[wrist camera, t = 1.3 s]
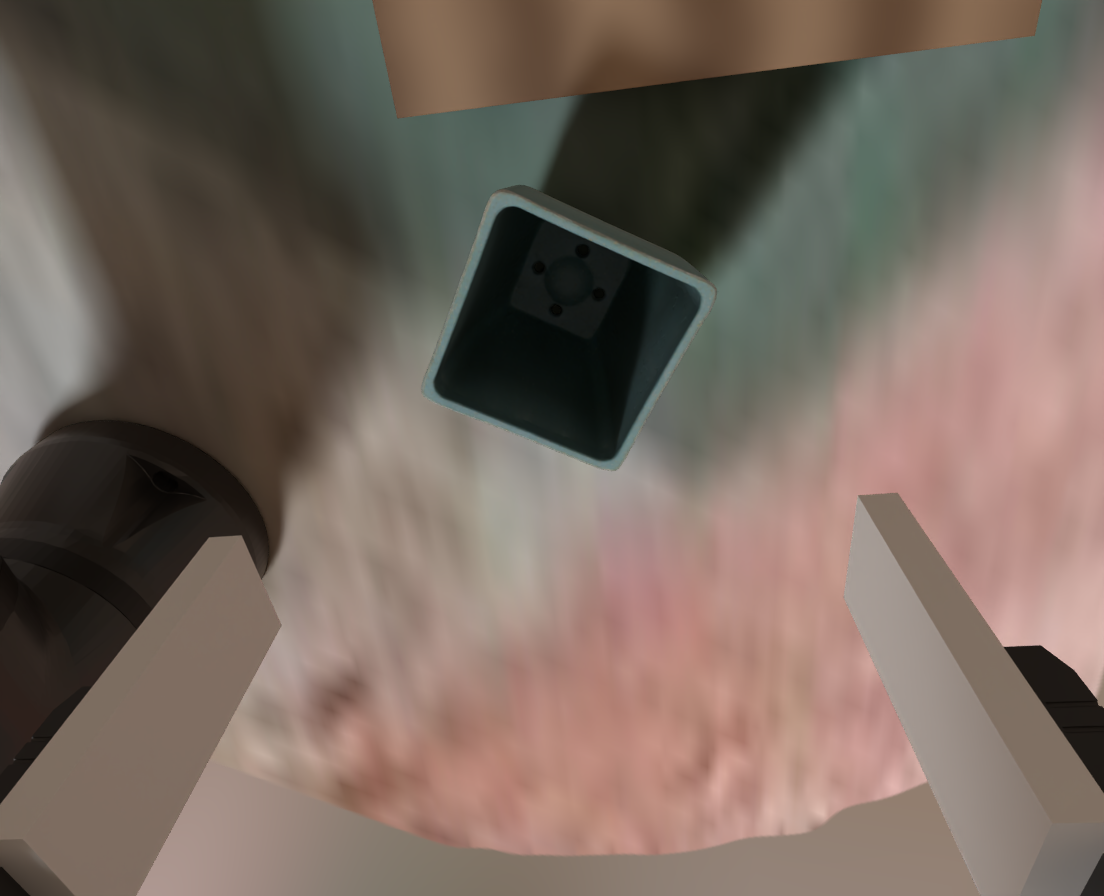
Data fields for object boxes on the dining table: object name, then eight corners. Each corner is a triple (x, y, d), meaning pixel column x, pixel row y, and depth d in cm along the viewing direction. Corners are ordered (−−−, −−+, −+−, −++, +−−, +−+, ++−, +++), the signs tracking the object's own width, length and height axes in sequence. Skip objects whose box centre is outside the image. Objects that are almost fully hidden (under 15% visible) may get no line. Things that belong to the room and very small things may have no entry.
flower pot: (518, 149, 30) (493, 184, 22) (692, 230, 31) (724, 289, 24) (455, 319, 34) (416, 398, 27) (611, 384, 36) (616, 476, 28)
